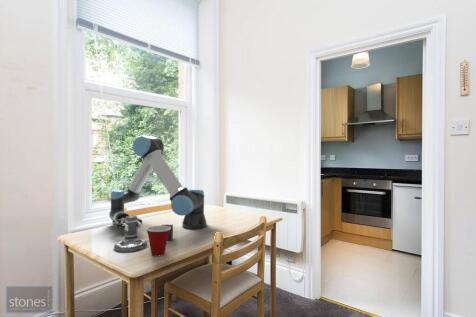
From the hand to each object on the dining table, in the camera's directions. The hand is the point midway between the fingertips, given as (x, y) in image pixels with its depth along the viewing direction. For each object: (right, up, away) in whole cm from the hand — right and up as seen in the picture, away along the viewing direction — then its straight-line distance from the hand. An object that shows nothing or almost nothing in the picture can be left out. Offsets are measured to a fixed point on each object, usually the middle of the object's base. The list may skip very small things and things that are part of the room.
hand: (134, 227), depth 135 cm
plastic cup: (+18, -7, -18) cm, 27 cm away
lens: (-3, -7, +4) cm, 8 cm away
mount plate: (+2, -7, -10) cm, 12 cm away
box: (+17, -7, +1) cm, 18 cm away
